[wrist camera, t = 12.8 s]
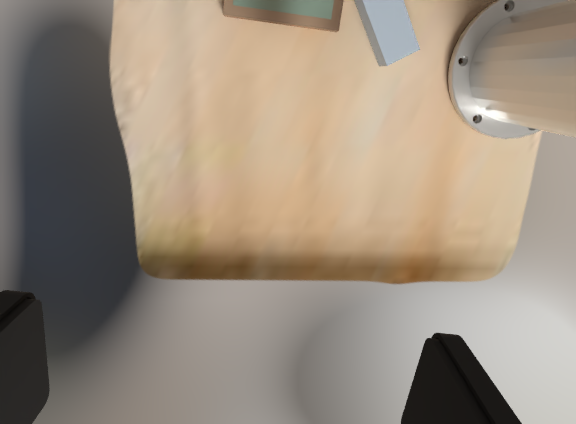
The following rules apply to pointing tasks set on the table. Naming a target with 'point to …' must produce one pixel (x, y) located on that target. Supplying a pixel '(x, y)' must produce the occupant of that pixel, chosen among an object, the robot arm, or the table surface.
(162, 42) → the table surface
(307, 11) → the green-topped square tray
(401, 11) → the slate-blue brick
